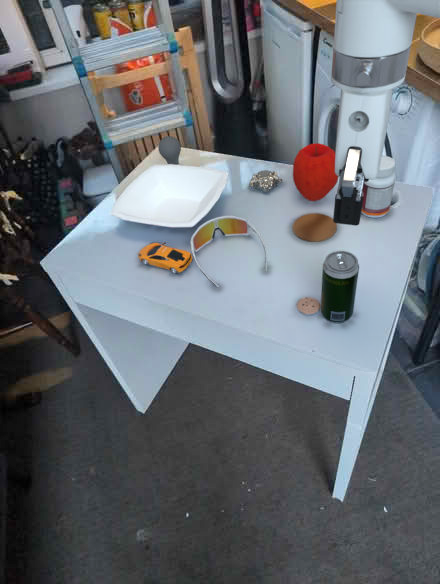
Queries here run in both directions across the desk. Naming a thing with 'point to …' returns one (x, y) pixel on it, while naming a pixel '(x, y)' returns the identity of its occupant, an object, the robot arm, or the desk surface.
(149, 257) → the toy car
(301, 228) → the coaster
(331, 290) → the beer can
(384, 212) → the pill bottle
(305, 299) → the cookie
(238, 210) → the desk surface
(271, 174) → the ornament
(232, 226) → the sunglasses
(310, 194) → the apple
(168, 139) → the light bulb
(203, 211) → the bowl
